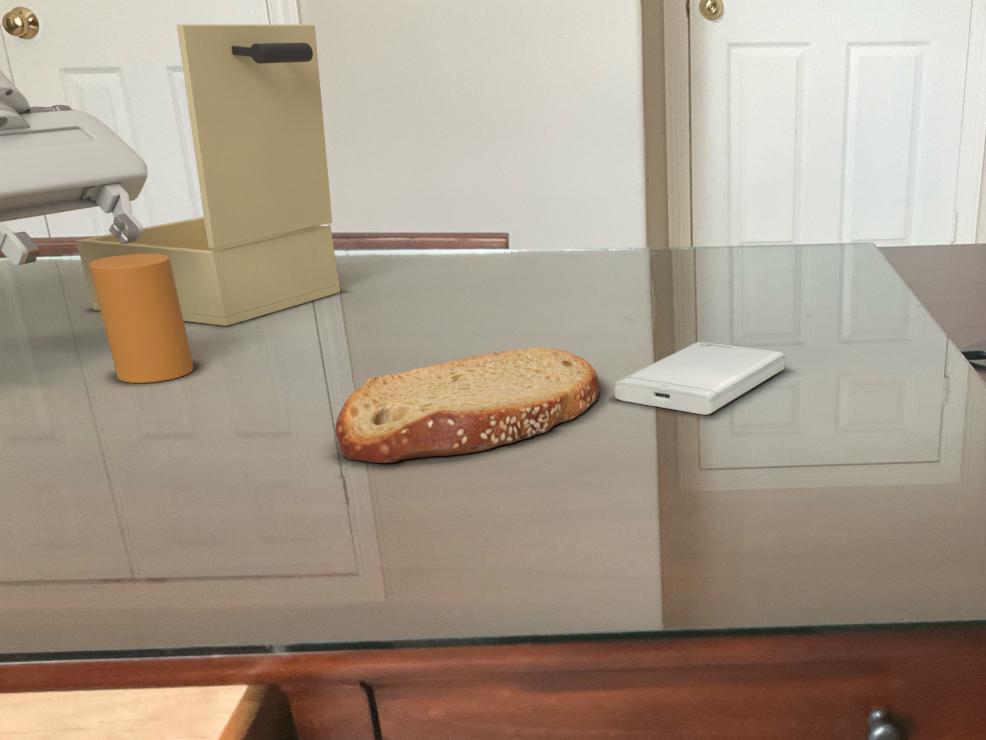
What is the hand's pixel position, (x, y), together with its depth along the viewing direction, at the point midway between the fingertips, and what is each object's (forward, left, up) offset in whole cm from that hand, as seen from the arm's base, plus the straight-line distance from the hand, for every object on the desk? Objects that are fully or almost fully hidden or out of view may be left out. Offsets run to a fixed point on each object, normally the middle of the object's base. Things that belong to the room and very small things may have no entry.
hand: (84, 248), depth 85 cm
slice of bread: (+18, -30, -10) cm, 37 cm away
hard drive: (+35, -34, -10) cm, 50 cm away
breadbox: (+13, +20, -10) cm, 26 cm away
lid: (+18, +12, +7) cm, 22 cm away
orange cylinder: (+2, -4, -10) cm, 11 cm away
